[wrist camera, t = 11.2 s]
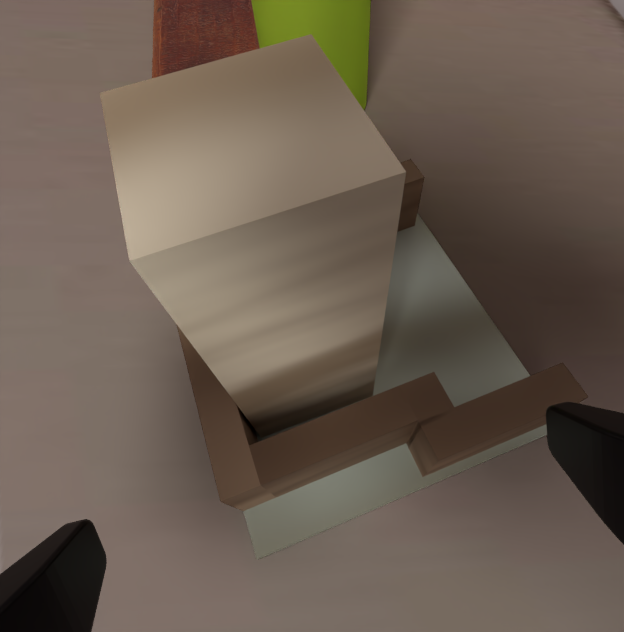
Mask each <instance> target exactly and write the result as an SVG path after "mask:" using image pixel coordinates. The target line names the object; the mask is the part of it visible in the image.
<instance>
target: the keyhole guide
mask: <svg viewBox="0 0 624 632" xmlns="http://www.w3.org/2000/svg"><path fill="white" fill-rule="evenodd" d="M401 165H402V166H403V168H404V169H405V171H406V177H405V183H404V190H403V197H402V203H401V210H400V217H399V223H398V230H397V237H396V243H395V250H394V257H393V263H392V270H391V277H390V284H389V290H388V297H387V304H386V310H385V317H384V324H383V330H382V337H381V344H380V350H379V357H378V364H377V370H376V377H375V384H374V390H373V396H370V397H368V398H365V399H363V400H360V401H357V402H355V403H352V404H349V405H347V406H344V407H341V408H339V409H336V410H333V411H331V412H328V413H326V414H323V415H320V416H318V417H315V418H312V419H310V420H307V421H304V422H302V423H299V424H297V425H294V426H291V427H289V428H286V429H283V430H281V431H278V432H275V433H273V434H270V435H267V436H265V437H262V438H261V436H260V435H259V434H258V432H257V431H256V430H255V428H254V427H253V426H252V424H251V423H250V422H249V420H248V419H247V418H246V416H245V415H244V414H243V412H242V411H241V410H240V408H239V407H238V406H237V404H236V403H235V402H234V400H233V399H232V398H231V396H230V395H229V394H228V392H227V391H226V390H225V388H224V387H223V386H222V384H221V383H220V382H219V380H218V379H217V378H216V376H215V375H214V374H213V372H212V371H211V370H210V368H209V367H208V366H207V364H206V363H205V361H204V360H203V359H202V357H201V356H200V355H199V353H198V352H197V351H196V349H195V348H194V347H193V345H192V344H191V343H190V341H189V340H188V339H187V337H186V336H185V335H184V333H183V332H182V331H181V329H180V328H179V327H178V325H177V328H178V332H179V336H180V340H181V344H182V348H183V352H184V356H185V360H186V364H187V368H188V373H189V377H190V381H191V385H192V389H193V393H194V397H195V401H196V405H197V409H198V413H199V417H200V421H201V425H202V429H203V433H204V437H205V441H206V445H207V449H208V453H209V457H210V461H211V465H212V469H213V473H214V477H215V481H216V485H217V489H218V493H219V497H220V501H221V502H223V503H225V504H227V505H230V506H232V507H235V508H237V509H239V510H242V511H243V512H244V515H245V519H246V523H247V526H248V530H249V534H250V537H251V541H252V545H253V548H254V552H255V556H256V559H261V558H263V557H265V556H268V555H270V554H272V553H275V552H277V551H279V550H282V549H284V548H286V547H288V546H291V545H293V544H295V543H298V542H300V541H302V540H305V539H307V538H309V537H312V536H314V535H316V534H318V533H321V532H323V531H325V530H328V529H330V528H332V527H335V526H337V525H339V524H342V523H344V522H346V521H349V520H351V519H353V518H355V517H358V516H360V515H362V514H365V513H367V512H369V511H372V510H374V509H376V508H379V507H381V506H383V505H386V504H388V503H390V502H392V501H395V500H397V499H399V498H402V497H404V496H406V495H409V494H411V493H413V492H416V491H418V490H420V489H423V488H425V487H427V486H429V485H432V484H434V483H436V482H439V481H441V480H443V479H446V478H448V477H450V476H453V475H455V474H457V473H460V472H462V471H464V470H466V469H469V468H471V467H473V466H476V465H478V464H480V463H483V462H485V461H487V460H490V459H492V458H494V457H496V456H499V455H501V454H503V453H506V452H508V451H510V450H513V449H515V448H517V447H520V446H522V445H524V444H527V443H529V442H531V441H533V440H536V439H538V438H540V437H543V436H545V435H547V426H546V410H547V408H548V407H549V406H551V405H555V404H559V403H563V402H574V403H580V402H581V401H583V400H584V399H586V398H587V397H588V396H587V394H586V393H585V391H584V390H583V389H582V387H581V386H580V385H579V383H578V382H577V381H576V379H575V378H574V377H573V375H572V374H571V373H570V371H569V370H568V369H567V367H566V366H565V365H564V363H560V364H558V365H556V366H553V367H551V368H548V369H546V370H543V371H541V372H539V373H536V374H534V375H531V376H530V375H529V373H528V372H527V370H526V369H525V367H524V366H523V365H522V363H521V362H520V360H519V359H518V357H517V356H516V354H515V353H514V352H513V350H512V349H511V347H510V346H509V344H508V343H507V341H506V340H505V339H504V337H503V336H502V334H501V333H500V331H499V330H498V328H497V327H496V326H495V324H494V323H493V321H492V320H491V318H490V317H489V315H488V314H487V312H486V311H485V310H484V308H483V307H482V305H481V304H480V302H479V301H478V299H477V298H476V297H475V295H474V294H473V292H472V291H471V289H470V288H469V286H468V285H467V284H466V282H465V281H464V279H463V278H462V276H461V275H460V273H459V272H458V271H457V269H456V268H455V266H454V265H453V263H452V262H451V260H450V259H449V258H448V256H447V255H446V253H445V252H444V250H443V249H442V247H441V246H440V245H439V243H438V242H437V240H436V239H435V237H434V236H433V234H432V233H431V232H430V230H429V229H428V227H427V226H426V224H425V223H424V221H423V220H422V218H421V217H420V216H419V214H418V213H417V212H418V207H419V202H420V197H421V192H422V187H423V182H424V176H423V175H422V173H421V172H420V171H419V169H418V168H417V167H416V165H415V164H414V163H413V161H412V160H411V159H410V160H407V161H404V162H401Z"/></svg>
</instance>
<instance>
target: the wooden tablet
mask: <svg viewBox="0 0 624 632" xmlns="http://www.w3.org/2000/svg"><path fill="white" fill-rule="evenodd" d="M256 49H260V47H259V42H258V36H257V30H256V24H255V19H254V13H253V7H252V1H251V0H154V26H153V59H152V62H153V67H152V78H156V77H159V76H163V75H166V74H170V73H173V72H177V71H181V70H184V69H188V68H191V67H195V66H199V65H202V64H206V63H209V62H213V61H217V60H220V59H224V58H227V57H231V56H234V55H238V54H242V53H245V52H249V51H252V50H256Z"/></svg>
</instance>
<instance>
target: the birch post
mask: <svg viewBox="0 0 624 632" xmlns="http://www.w3.org/2000/svg"><path fill="white" fill-rule="evenodd" d="M100 96H101V102H102V108H103V113H104V119H105V125H106V131H107V136H108V142H109V148H110V153H111V159H112V165H113V170H114V176H115V182H116V187H117V193H118V199H119V204H120V210H121V216H122V222H123V227H124V233H125V239H126V244H127V250H128V256H129V261H130V262H131V264H132V265H133V266H134V268H135V269H136V270H137V272H138V273H139V274H140V276H141V277H142V278H143V280H144V281H145V282H146V284H147V285H148V286H149V288H150V289H151V291H152V292H153V293H154V295H155V296H156V297H157V299H158V300H159V301H160V303H161V304H162V305H163V307H164V308H165V309H166V311H167V312H168V313H169V315H170V316H171V317H172V319H173V320H174V321H175V323H176V324H177V325H178V327H179V328H180V329H181V331H182V332H183V333H184V335H185V336H186V337H187V339H188V340H189V341H190V343H191V344H192V345H193V347H194V348H195V349H196V351H197V352H198V353H199V355H200V356H201V357H202V359H203V360H204V361H205V363H206V364H207V366H208V367H209V368H210V370H211V371H212V372H213V374H214V375H215V376H216V378H217V379H218V380H219V382H220V383H221V384H222V386H223V387H224V388H225V390H226V391H227V392H228V394H229V395H230V396H231V398H232V399H233V400H234V402H235V403H236V404H237V406H238V407H239V408H240V410H241V411H242V412H243V414H244V415H245V416H246V418H247V419H248V420H249V422H250V423H251V424H252V426H253V427H254V428H255V430H256V431H257V432H258V434H259V435H260V436H261V438H262V437H265V436H267V435H270V434H273V433H275V432H278V431H281V430H283V429H286V428H289V427H291V426H294V425H297V424H299V423H302V422H304V421H307V420H310V419H312V418H315V417H318V416H320V415H323V414H326V413H328V412H331V411H333V410H336V409H339V408H341V407H344V406H347V405H349V404H352V403H355V402H357V401H360V400H363V399H365V398H368V397H370V396H373V390H374V384H375V377H376V370H377V364H378V357H379V350H380V344H381V337H382V330H383V324H384V317H385V310H386V304H387V297H388V290H389V284H390V277H391V270H392V263H393V257H394V250H395V243H396V237H397V230H398V223H399V217H400V210H401V203H402V197H403V190H404V183H405V177H406V171H405V169H404V168H403V166H402V165H401V163H400V162H399V161H398V159H397V158H396V156H395V155H394V153H393V152H392V150H391V149H390V147H389V146H388V145H387V143H386V142H385V140H384V139H383V137H382V136H381V134H380V133H379V132H378V130H377V129H376V127H375V126H374V124H373V123H372V121H371V120H370V118H369V117H368V116H367V114H366V113H365V111H364V110H363V108H362V107H361V105H360V104H359V103H358V101H357V100H356V98H355V97H354V95H353V94H352V92H351V91H350V90H349V88H348V87H347V85H346V84H345V82H344V81H343V79H342V78H341V76H340V75H339V74H338V72H337V71H336V69H335V68H334V66H333V65H332V63H331V62H330V61H329V59H328V58H327V56H326V55H325V53H324V52H323V50H322V49H321V47H320V46H319V45H318V43H317V42H316V40H315V39H314V37H313V36H312V34H310V35H306V36H303V37H299V38H295V39H292V40H288V41H285V42H281V43H278V44H274V45H270V46H267V47H263V48H260V49H256V50H252V51H249V52H245V53H242V54H238V55H234V56H231V57H227V58H224V59H220V60H217V61H213V62H209V63H206V64H202V65H199V66H195V67H191V68H188V69H184V70H181V71H177V72H173V73H170V74H166V75H163V76H159V77H156V78H152V79H148V80H145V81H141V82H138V83H134V84H130V85H127V86H123V87H120V88H116V89H112V90H109V91H105V92H102V93H100Z"/></svg>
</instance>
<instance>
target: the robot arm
mask: <svg viewBox="0 0 624 632" xmlns="http://www.w3.org/2000/svg"><path fill="white" fill-rule="evenodd" d="M546 426H547V439H548V446H549V449H550V451H551V453H552V455H553V457H554V458H555V459H556V461H557V462H558V463H559V465H560V466H561V467H562V468H563V470H564V471H565V472H566V474H567V475H568V476H569V478H570V479H571V480H572V482H573V483H574V484H575V486H576V487H577V488H578V490H579V491H580V492H581V494H582V495H583V496H584V497H585V499H586V500H587V501H588V503H589V504H590V505H591V507H592V508H593V509H594V511H595V512H596V513H597V514H598V516H599V517H600V518H601V519H602V521H603V522H604V523H605V524H606V525H607V527H608V528H609V529H610V530H611V531H612V532H613V533H614V534H615V536H616V537H617V538H618V539H619V540H620V541H621V542H622V543H623V544H624V413H620V412H615V411H611V410H606V409H601V408H597V407H592V406H588V405H583V404H578V403H574V402H563V403H559V404H555V405H551V406H549V407H548V408H547V410H546ZM105 570H106V554H105V551H104V548H103V546H102V544H101V541H100V539H99V536H98V534H97V532H96V529H95V527H94V525H93V523H92V522H91V521H90V520H87V519H84V520H80V521H76V522H72V523H68V524H65V525H64V526H62V527H61V528H60V529H58V530H57V531H56V532H54V533H53V534H52V535H51V536H49V537H48V538H47V539H45V540H44V541H43V542H41V543H40V544H39V545H38V546H36V547H35V548H34V549H32V550H31V551H30V552H29V553H27V554H26V555H25V556H23V557H22V558H21V559H19V560H18V561H17V562H16V563H14V564H13V565H12V566H10V567H9V568H8V569H6V570H5V571H4V572H3V573H1V574H0V632H91V631H92V626H93V622H94V618H95V613H96V609H97V604H98V600H99V596H100V591H101V587H102V583H103V578H104V574H105Z"/></svg>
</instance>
